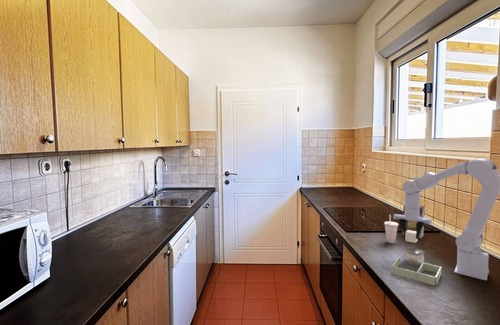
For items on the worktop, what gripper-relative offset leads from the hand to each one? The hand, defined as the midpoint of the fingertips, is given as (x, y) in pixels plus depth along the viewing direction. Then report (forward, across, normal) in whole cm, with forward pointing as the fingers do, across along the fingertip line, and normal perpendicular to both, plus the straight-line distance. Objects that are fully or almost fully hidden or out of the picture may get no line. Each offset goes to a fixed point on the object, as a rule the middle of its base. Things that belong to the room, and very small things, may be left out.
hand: (411, 237), depth 121 cm
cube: (+2, 0, 0) cm, 2 cm away
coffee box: (+8, +6, -30) cm, 32 cm away
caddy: (+8, -6, +18) cm, 20 cm away
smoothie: (+8, +12, -12) cm, 19 cm away
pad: (+8, -10, +18) cm, 22 cm away
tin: (+8, -3, +7) cm, 11 cm away
